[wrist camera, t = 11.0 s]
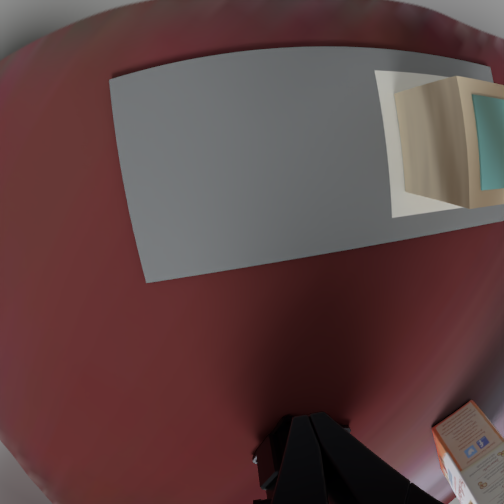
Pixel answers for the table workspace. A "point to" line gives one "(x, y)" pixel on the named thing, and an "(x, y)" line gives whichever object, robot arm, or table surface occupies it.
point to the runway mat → (274, 156)
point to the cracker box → (471, 455)
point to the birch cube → (453, 141)
